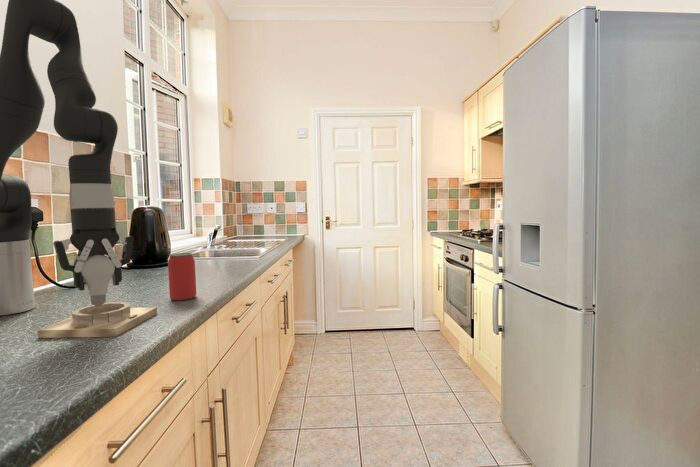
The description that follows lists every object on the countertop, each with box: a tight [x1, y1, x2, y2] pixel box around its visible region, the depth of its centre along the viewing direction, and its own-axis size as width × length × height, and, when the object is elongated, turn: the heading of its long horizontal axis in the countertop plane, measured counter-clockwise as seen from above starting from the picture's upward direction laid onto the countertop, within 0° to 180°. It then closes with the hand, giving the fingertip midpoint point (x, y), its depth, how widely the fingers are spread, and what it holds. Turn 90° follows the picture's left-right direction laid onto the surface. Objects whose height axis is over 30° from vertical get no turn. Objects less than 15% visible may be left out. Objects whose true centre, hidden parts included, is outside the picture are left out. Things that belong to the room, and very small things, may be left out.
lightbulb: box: [80, 255, 115, 307], centre depth 77 cm, size 6×6×11 cm
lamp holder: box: [37, 301, 158, 339], centre depth 78 cm, size 15×15×4 cm
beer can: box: [167, 252, 197, 302], centre depth 100 cm, size 7×7×12 cm
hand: (98, 287), depth 78 cm, fingers closed on lightbulb, 5 cm apart
